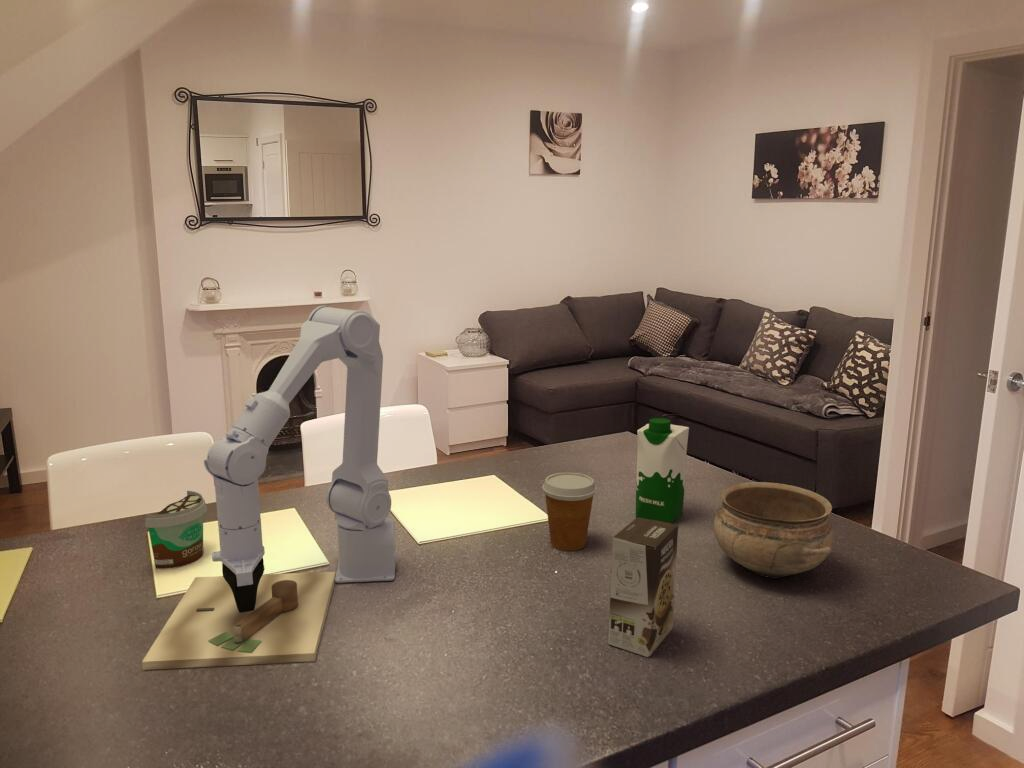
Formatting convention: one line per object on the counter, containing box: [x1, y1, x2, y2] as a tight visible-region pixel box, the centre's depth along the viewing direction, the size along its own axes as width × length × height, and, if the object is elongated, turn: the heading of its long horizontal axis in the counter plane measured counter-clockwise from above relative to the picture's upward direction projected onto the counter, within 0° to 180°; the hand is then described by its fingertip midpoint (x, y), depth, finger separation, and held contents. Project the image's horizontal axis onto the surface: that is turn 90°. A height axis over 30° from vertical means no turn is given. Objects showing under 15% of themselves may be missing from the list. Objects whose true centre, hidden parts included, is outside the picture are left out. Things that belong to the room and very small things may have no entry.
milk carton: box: [635, 417, 690, 524], centre depth 152 cm, size 9×9×20 cm
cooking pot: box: [713, 481, 835, 578], centre depth 131 cm, size 25×19×12 cm
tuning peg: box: [233, 580, 298, 643], centre depth 112 cm, size 13×4×3 cm, turn 160°
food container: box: [144, 490, 208, 570], centre depth 134 cm, size 12×6×10 cm, turn 168°
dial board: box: [141, 571, 337, 671], centre depth 115 cm, size 22×24×1 cm
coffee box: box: [607, 517, 679, 658], centre depth 110 cm, size 9×6×16 cm
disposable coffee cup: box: [541, 472, 597, 552], centre depth 141 cm, size 10×10×12 cm
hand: (246, 609), depth 114 cm, fingers closed
